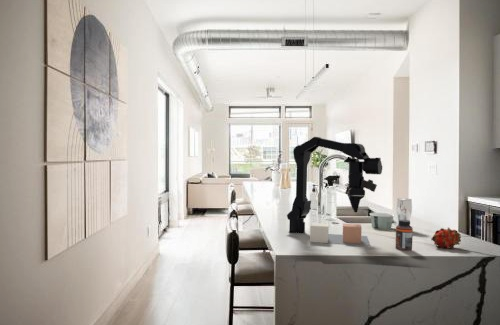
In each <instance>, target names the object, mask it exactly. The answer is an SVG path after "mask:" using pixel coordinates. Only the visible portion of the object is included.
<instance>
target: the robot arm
mask: <svg viewBox="0 0 500 325" xmlns="http://www.w3.org/2000/svg"><path fill="white" fill-rule="evenodd" d="M319 147H321V148H325V149H330V150H333V151H338V152H340V153H343V154H344V155H347V156H348V157H347V158H345V159H344V161H343V162H344V163H348V175H347V176H348V177H347V178H348V185H347V186H346V194H347V198H348V200H349V203H350V205H351V208H352V210H353V212H354V213H357V212H358V211H359V207H360V206H359V205H360V202H361V200H362V199H363V198H365V196H366V190H365V189H367V190H369V191H371V192H373V193H375V191H376V189H377V186H378V184H376V183H374V181H373V180H372V179H368V180H366V179H365V177H364V176H363V175H364V174H363V173H365V175H382V172H383V165H382V159H381V157H370V156H369V155H368V153H367V152H366V148H365V146H364V144H361V143H354V142H341V141H337V140H331V139H326V138H322V137H320V136H313V137H312V138H309V140H307V141H305V142H302V144H300V145H296V146H295V147H293V150H292V151H293V158H294V161H295V164H296V175H295V176H296V183H295V184H296V186H295V197H294V200H293V203H292V208H291V210H290V211H289V212H288V213H287V214H286V217H287V220H289V226H288V228H289V231H288V234H304V233H305V232H306V221H305V219H306V218H307V215H308V214H309V213H310V211H311V210H312V207H311V204H312V200H309V199H308V197H307V194H308V193H307V189H308V188H307V185H308V164H309V162H310V159H311V156H312V153H314V152H315V151H317V149H318V148H319Z"/></svg>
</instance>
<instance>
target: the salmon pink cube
mask: <svg viewBox="0 0 500 325" xmlns="http://www.w3.org/2000/svg"><path fill="white" fill-rule="evenodd" d="M342 235H343V242H347V243H361V236H362V224H359V223H342Z"/></svg>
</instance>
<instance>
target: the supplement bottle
mask: <svg viewBox="0 0 500 325" xmlns="http://www.w3.org/2000/svg"><path fill="white" fill-rule="evenodd" d="M413 230H414V229H413V226H411V220H410V221H409V220H399V225H398V224H397V225H396V227H395V249H396V250H398V251H408V252H409V251H412V250H413V233H414V232H413Z"/></svg>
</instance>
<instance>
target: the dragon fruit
mask: <svg viewBox="0 0 500 325" xmlns="http://www.w3.org/2000/svg"><path fill="white" fill-rule="evenodd" d="M461 236H462V234H460V233H459V232H458V230H456V229H451V228H450V227H447V229H445V228H443V227H442V228H440V229H439V230H436V231H435V232H434V235H433V236H432V237H431V241H433V244H434V245H435V247H437V248H441V249H442V248H447V249H453V248H455V246H457V245H459V246H460V243H461V242H462V241H461V240H462V239H461V238H462V237H461Z"/></svg>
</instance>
